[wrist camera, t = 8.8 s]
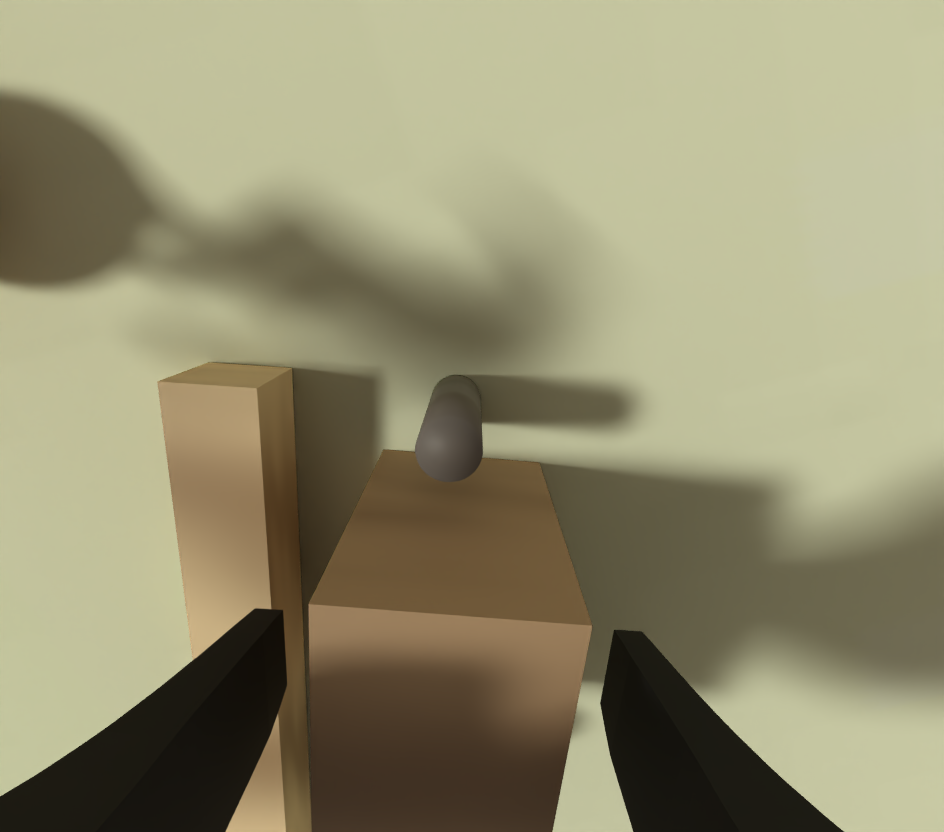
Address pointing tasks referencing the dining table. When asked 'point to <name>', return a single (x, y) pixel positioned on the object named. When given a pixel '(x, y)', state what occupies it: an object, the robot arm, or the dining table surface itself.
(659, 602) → the dining table surface
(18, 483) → the dining table surface
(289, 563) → the ledge
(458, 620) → the wooden box
